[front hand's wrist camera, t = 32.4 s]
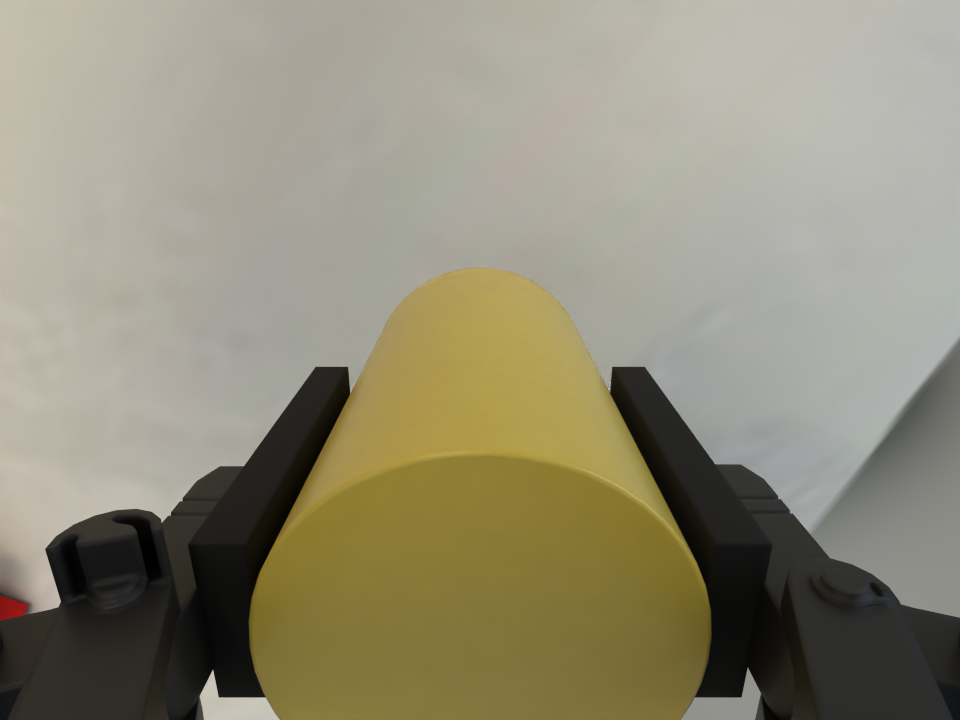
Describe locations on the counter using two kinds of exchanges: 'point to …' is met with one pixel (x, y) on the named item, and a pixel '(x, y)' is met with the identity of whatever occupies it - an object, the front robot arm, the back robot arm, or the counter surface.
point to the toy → (11, 608)
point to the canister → (480, 535)
